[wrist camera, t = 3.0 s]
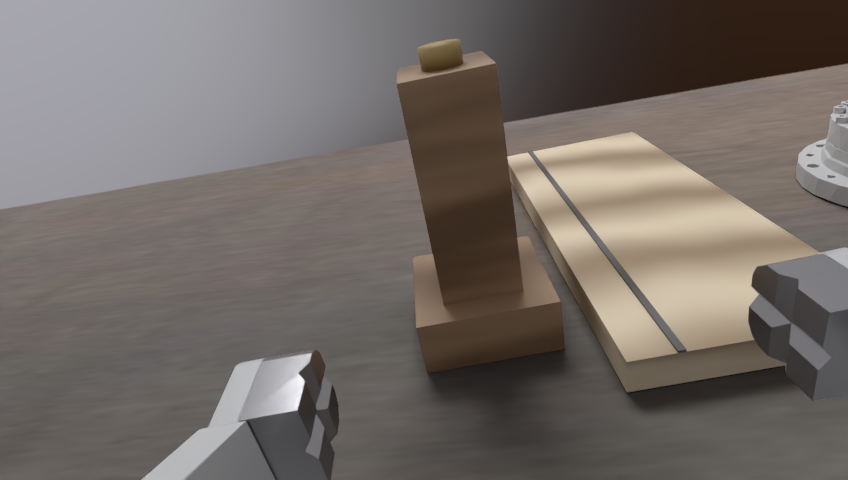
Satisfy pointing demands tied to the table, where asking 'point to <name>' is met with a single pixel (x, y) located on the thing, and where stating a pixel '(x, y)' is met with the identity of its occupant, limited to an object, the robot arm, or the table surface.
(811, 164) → the mechanical component
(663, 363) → the plank
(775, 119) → the table surface
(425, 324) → the wooden peg post
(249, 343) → the table surface
